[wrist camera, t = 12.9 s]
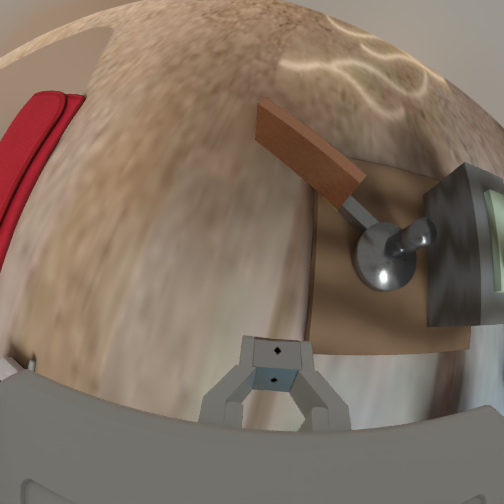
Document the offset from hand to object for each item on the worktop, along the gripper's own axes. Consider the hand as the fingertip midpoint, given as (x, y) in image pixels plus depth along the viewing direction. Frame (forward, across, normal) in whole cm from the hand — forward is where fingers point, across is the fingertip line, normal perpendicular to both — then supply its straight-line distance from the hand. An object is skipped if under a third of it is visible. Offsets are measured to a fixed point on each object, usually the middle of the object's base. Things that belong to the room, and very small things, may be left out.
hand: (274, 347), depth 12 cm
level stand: (+18, -16, +5) cm, 25 cm away
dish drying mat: (+20, +42, +4) cm, 47 cm away
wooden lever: (+19, -6, +1) cm, 20 cm away
